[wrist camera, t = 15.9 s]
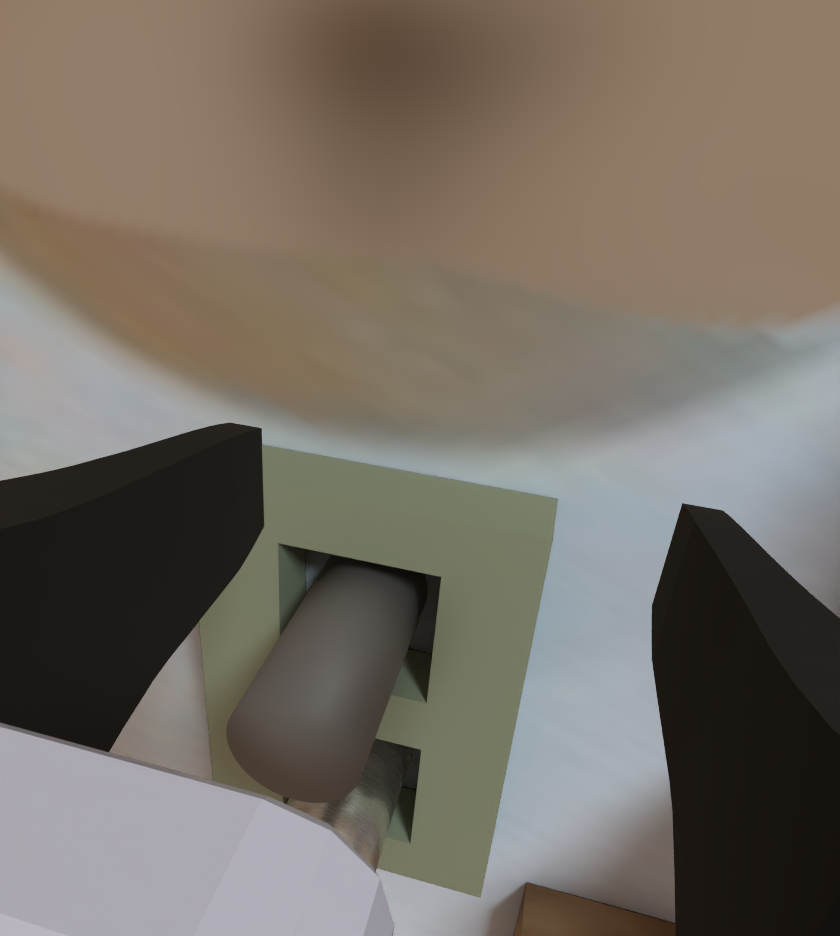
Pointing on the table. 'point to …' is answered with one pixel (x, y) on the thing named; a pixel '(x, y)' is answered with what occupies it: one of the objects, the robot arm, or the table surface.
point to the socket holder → (581, 917)
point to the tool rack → (379, 649)
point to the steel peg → (367, 801)
